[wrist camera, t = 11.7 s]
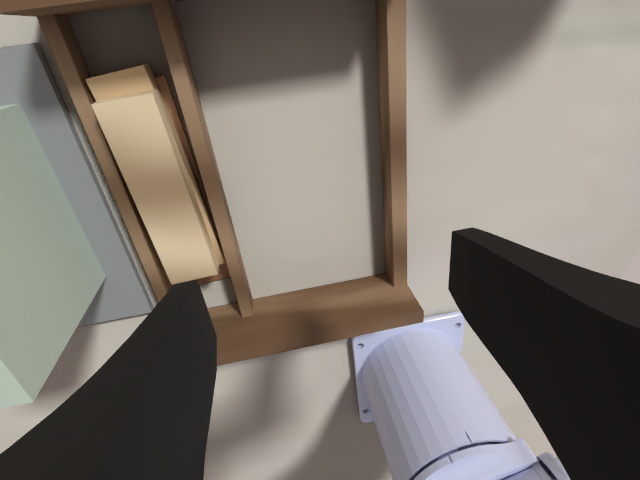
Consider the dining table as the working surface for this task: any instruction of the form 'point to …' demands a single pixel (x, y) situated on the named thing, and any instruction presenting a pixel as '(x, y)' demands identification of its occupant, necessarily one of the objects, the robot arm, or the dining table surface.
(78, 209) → the grey rubber mat
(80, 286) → the sage plywood sheet
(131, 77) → the middle offcut
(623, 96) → the dining table surface
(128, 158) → the top offcut
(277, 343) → the walnut rack
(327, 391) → the dining table surface
